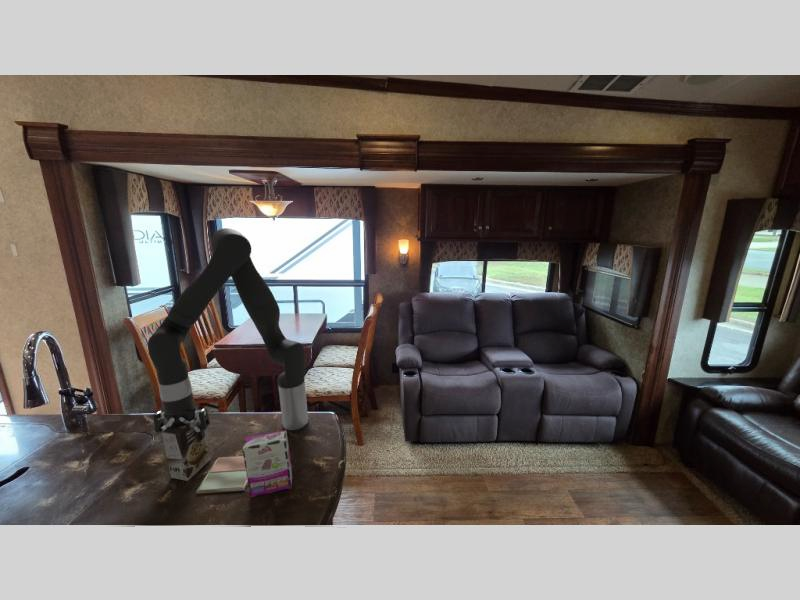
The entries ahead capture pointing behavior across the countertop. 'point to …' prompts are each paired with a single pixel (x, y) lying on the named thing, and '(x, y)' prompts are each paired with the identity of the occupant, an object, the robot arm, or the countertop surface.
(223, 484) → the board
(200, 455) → the coffee box
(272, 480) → the candy bar box
